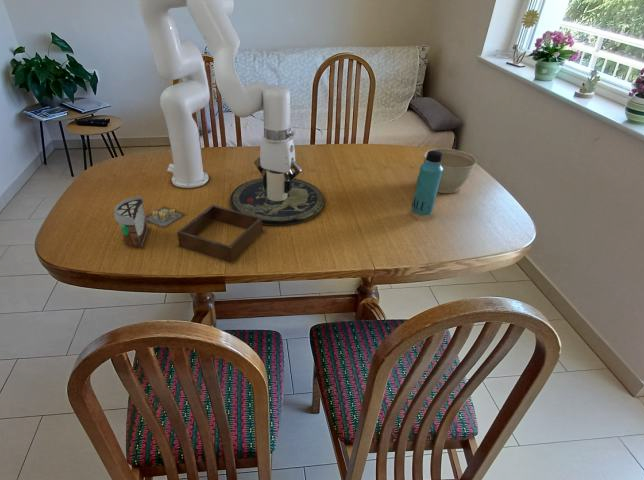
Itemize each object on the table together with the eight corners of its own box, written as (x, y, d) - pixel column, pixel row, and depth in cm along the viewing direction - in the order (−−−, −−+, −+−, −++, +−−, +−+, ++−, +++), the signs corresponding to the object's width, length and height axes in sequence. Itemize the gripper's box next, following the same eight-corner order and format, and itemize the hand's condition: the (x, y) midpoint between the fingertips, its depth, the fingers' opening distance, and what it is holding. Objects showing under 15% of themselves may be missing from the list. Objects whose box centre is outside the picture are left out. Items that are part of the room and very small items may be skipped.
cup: (263, 198, 129) (262, 172, 123) (272, 190, 133) (272, 164, 128) (282, 203, 126) (282, 176, 121) (290, 194, 131) (291, 168, 126)
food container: (127, 227, 118) (118, 196, 112) (148, 226, 118) (141, 195, 112) (116, 251, 108) (107, 219, 102) (140, 250, 108) (132, 218, 103)
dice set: (176, 215, 123) (175, 209, 122) (164, 222, 120) (163, 217, 119) (164, 210, 126) (163, 205, 124) (152, 218, 122) (150, 212, 121)
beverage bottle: (432, 211, 126) (448, 149, 114) (431, 222, 121) (447, 158, 109) (410, 208, 128) (424, 146, 116) (408, 218, 123) (422, 154, 111)
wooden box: (179, 246, 110) (176, 232, 108) (213, 217, 122) (212, 204, 120) (231, 262, 105) (230, 248, 102) (262, 231, 117) (262, 217, 114)
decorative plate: (216, 214, 120) (244, 172, 144) (217, 220, 121) (244, 177, 145) (317, 226, 116) (329, 180, 139) (317, 232, 117) (328, 185, 140)
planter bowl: (443, 174, 148) (450, 145, 142) (477, 193, 136) (487, 162, 130) (408, 182, 142) (414, 152, 136) (440, 202, 131) (449, 171, 124)
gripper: (309, 133, 117) (307, 189, 128) (257, 124, 123) (258, 179, 134) (299, 142, 112) (297, 200, 122) (244, 132, 118) (247, 188, 129)
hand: (277, 188), depth 128 cm, fingers closed on cup, 6 cm apart
